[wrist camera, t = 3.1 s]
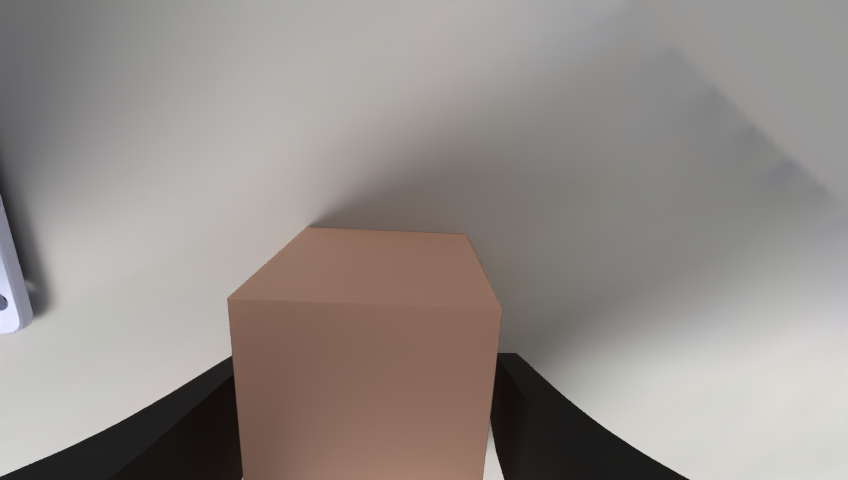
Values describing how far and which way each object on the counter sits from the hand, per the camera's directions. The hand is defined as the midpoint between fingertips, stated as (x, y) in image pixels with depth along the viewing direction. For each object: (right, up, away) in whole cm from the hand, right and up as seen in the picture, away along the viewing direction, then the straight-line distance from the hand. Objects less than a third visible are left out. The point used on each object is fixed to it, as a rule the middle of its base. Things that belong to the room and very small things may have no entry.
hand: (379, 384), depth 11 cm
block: (0, 0, +2) cm, 2 cm away
